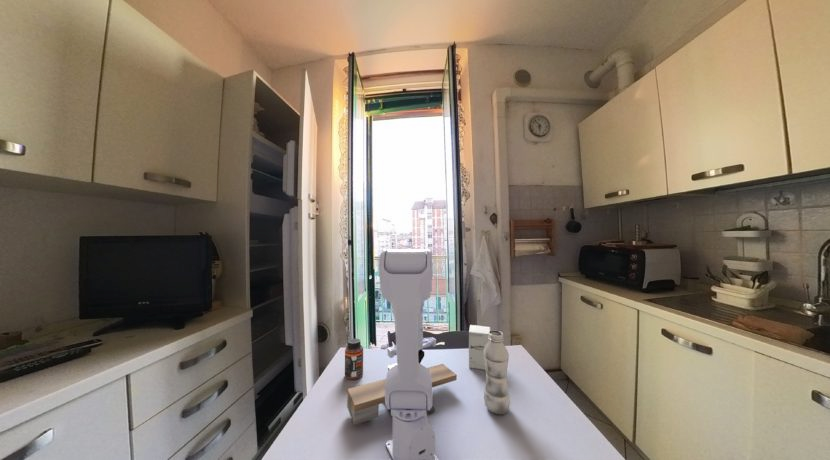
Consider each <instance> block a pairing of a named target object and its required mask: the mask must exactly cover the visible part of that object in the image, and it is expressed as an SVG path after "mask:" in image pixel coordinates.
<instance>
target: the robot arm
mask: <svg viewBox="0 0 830 460" xmlns="http://www.w3.org/2000/svg"><path fill="white" fill-rule="evenodd" d="M378 276H379V287H380V292H381V297H382V298H383V299H384V300H386V301H387V302H388V303H390V305H391V309H392V314H393V318H394V319H393V320H394V330H395V331H394V333H395V334H394V335H395V345H393V346H390V347H387V356H388V357H389V358H390V359H392V358H394V356H396V363H395V364H396V365H394V364H393V365H394V366H393V367H391V368H389V370H388V369H387V373H386V377H385V379H386V384H385V403H384V404H385V407H386V409H387V410H389V409H391V412H390V416H392V419H391V420H392V425H391V426H392V434H391V435H392V436H391V437H392V439H388V440H387V441H386V442H385V447H386V449H387V451H388V453H389V455H390V457H391V459H392V460H439V458H438V456H437V455H436V442H435V441H436V437H435V436H436V435H435V430H434V429H433V428H434V427H432V425H431V423H430V421H429V420H428V419H429V418H428V415H427V412H426V399H427V410H430V409H431V408H432V406H433V388H432V378H431V373H430V370H429V369H428V368H429V367H427V366H425V365H423V364H421V363H422V361H423V359H424V357H425V351H424V350H423V349H425V348H429V347H436V346H437V339H436V338H434V336H432V337H431V336H430V337H424V318H423V317H424V305H425V302H426V301H427V300H428V299H430V298H431V293H432V291H433V287H432V285H433V284H432V283H433V282H432V281H433V252H432V251H431V250H430V248H426V249H387V248H384V249H382V251H381V252H380V255H379V261H378Z"/></svg>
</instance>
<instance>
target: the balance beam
mask: <svg viewBox="0 0 830 460" xmlns="http://www.w3.org/2000/svg"><path fill="white" fill-rule="evenodd" d="M427 368H428V369H429V370H430V373H431V378H432V389H434V388H435V387H438V386H441V385H442V386H443V385H445V384H449V383H452V382H455V381H457V377H458V375H457V373H455V372H454V371H453V370H451V369H450V368H449V367H448V366H446V365H445V364H444V363H440V364H437V365H434V366H429V367H427ZM385 384H386V378H384V379H379V380H377V381H373V382H368V383H365V384H361V385H357V386H354V387H350V388H347V397H346V398H347V399H346V408H347V410H348V414H349V416H350V418H351V421H352V424H353V425H354V426H356V425H358V424H361V423H365V422H367V421H370V420H373V419H376V418H378V417H379V412H380V411H379V407H380V405H381V404H385Z"/></svg>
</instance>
